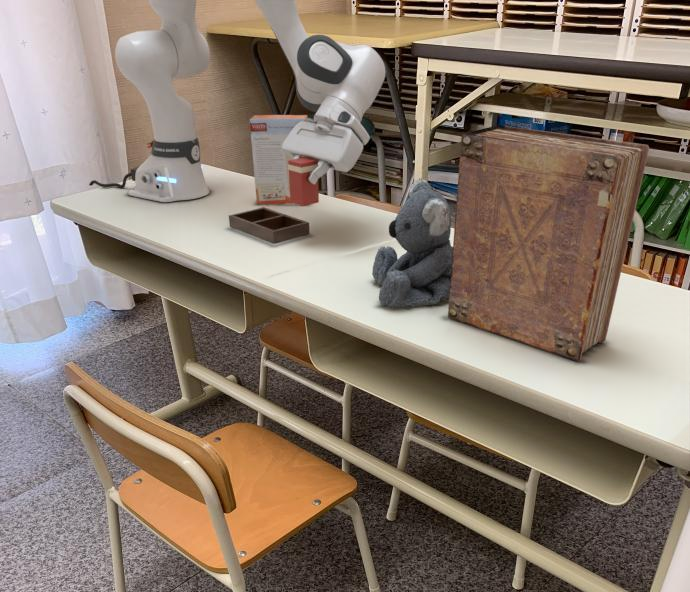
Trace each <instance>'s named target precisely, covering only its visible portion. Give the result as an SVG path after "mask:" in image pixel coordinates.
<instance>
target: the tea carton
mask: <svg viewBox="0 0 690 592" xmlns="http://www.w3.org/2000/svg"><path fill="white" fill-rule="evenodd" d="M317 164H318V163H317V160H313V159H309V158H305V157H303V158H298V159H293V160H288V170H289V184H290V202H291V203H290V204H294V205H298V206H301V207H305V206H309V205H314V204H318V203H319V202H320V195H319V179H318V180H317V182H316V184H311V183H309V182H308V181H307V180H306V177H307V176H308V174H309V172H313V171H314V170H315V169H316V168H317V167H318V165H317Z"/></svg>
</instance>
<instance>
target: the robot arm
mask: <svg viewBox="0 0 690 592" xmlns="http://www.w3.org/2000/svg"><path fill="white" fill-rule="evenodd" d="M147 2H148V3H149V5H150V7H151V9H152V10H153V12H154V13H155V14H156V15H158V16H159V17H160V18H161V26H160V28H159V29H153V30H151V29H150V30H140V31H139V30H138V31H133V32H131V33H128V34H126V35H123V36H121V37H120V38H119V39H118V40H117V42H116V45H115V51H114V57H115V62H116V65H117V68H118V69H119V71H120V73H121V75H123V77H124V78H125V79H126V80H128V81H129V82H130V83H132V85H134V86H135V87H136V88H137V90H138V91H139V92H140V94H141V96H142V98H143V99H144V101H145V103H146V106H147V110H148V113H149V116H150V117H149V118H150V121H151V127H152V132H153V138H154V139H153V140H152V141H151V142H147V143H146V145H148V146H147V147H146V148H147V149H150V148H151V151H150V155H149V156H148V157H147V158H146V159H145V161H144V162H142V164H140V165H139V166H136V167H134V168H131V169H130V172H129V173H126V175H124V176H123V179H122V184H120V183H116V182H113V183H101V182H99V181H98V180H95V179H94V180H91V181H90V182H89V184H88V186H90V187H91V186H93V185H94V184H95V185H97V186H99V187H101V188H113V187H118V188H120V189H123V188H125V186H126V184H127V179H129V178H130V177H131V181H132V182H135V183H134V184H135V186H133V187H131V188H130V189H129V190H128V196H131V197H136V198H140V199H146V200H149V201H155V202H159V203H171V202H176V201H188V200H194V199H199V198H204V197H206V196H207V195H209V193H210V190H209V188H208V185H207V181H206V179H205V175H204V172H203V165H202V163H201V149H200V147H201V146H200V141H199V137H197V129H196V122H195V121H196V120H195V114H194V108H193V106H192V104H191V103H190V102H189V101H188V100H187V99H186V98H184V97H182V96H180V95H179V94H178V92H177V91H176V89H175V86H174V82H173V80H174V81H175V80H181V79H188V78H193V77H195V76H197V75H199V74H202V73H204V72H205V71H207V69H208V67H209V65H210V58H211V51H210V46H209V44H208V41H207V40H206V38H205V37H204V35H203V34H202V33H201V32H200V30H199V28H198V25H197V20H196V19H197V18H196V6H197V0H148V1H147ZM254 3H255V4H256V5H257V7H258V9H259V10H260V12H261V14H262V15H263V17H264V18H265V20H266V22H267V24H268V25H269V27H270V28H271V30H272V33H273V34H274V36H275V39H276V41H277V42H278V44H279V47H280V48H281V50H282V52H283V54H284V56H285V58H286V61H287V62H288V64H289V67H290V68H291V70H292V72H293V76H294V79H295V80H294V81H295V92H296V96H297V99H298V102H300V104H301V106H303V108H305V109H307V111H310V112H314V113H315V114H314V115H313V117H312V118H311V117H307V119H306V120H304V121H301V122H299V123H298V124H297V125H296V126H295V127H294V128H293V129H292V131H291V132H290V133H289V135H288V136H287V138H286V139H285V141H284V142H283V144H282V150H283V151H284V152H285V154H286V155H287V156H288V157H289V158H291V159H298V158H303V157H305V158H309V159H313V160H317V163H318V164H317V165H318V167H317V168H316V169H315V170H314V171H313V172H309V174H308V176H307V177H306V180H307V181H308V182H309V183H311V184H316V182H317V180H318V181H319V179H320V178H322V177H323V176H324V175H326V174H327V173H328V171H329V169H331V170H334V171H339V172H342V173H348V172H349V171H350V170H352V169H353V168H354V167H355V165H356V163H357V161H358V160H359V158H360V156H361V154H362V152H363V150H364V146H366V145H367V144H368V143H369V141H370V139H371V136H370V135H369V133H368V131H367V130H366V129H365V127H364V126H363V125H362V120H363V116H364V114H365V112H366V111H367V110H368V109H369V108H370V107H371V106H372V105H373V103H374V101H375V99H376V98H377V96H378V94H379V92H380V90H381V88H382V86H383V83H384V81H385V78H386V66H385V63H384V61H383V59H382V56H381V55H380V53H378V52H377V51H376V50H375V48H373V47H372V46H369V45H368V44H363V43H362V44H356V45H354V44H353V45H352V44H346V43H342V42H340V41H336V40H334V39H333V38H331V37H330V36H328V35H325V34H314V35H311V36H309V35H308V33H307V32H306V29H305V28H304V25H303V23H302V20H301V18H300V14H299V11H298V5H297V0H254Z"/></svg>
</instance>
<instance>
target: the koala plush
mask: <svg viewBox="0 0 690 592" xmlns="http://www.w3.org/2000/svg"><path fill="white" fill-rule="evenodd" d="M410 184H411V185H410V188H409V190H408V199H406V201H405V202H404V204H403V205H402V206H401V207H400V209H399V211H398V213H397V215H396V217H395V219H393V220H392V221H391V222H389V225H388V234H389V236H390V237H391V238H393V239H395V240H396V241H397V243H398V244H399V246H400V247H401V248H402V249H403V250H405V251H406V252H405V253H404V254H402V255H401V256H400V257H399V258H398V254H397V252H396V249H395V248H393V247H391V246H387V247H386V246H381V247H379V248H378V249H377V251H376V254H375V256H374V262H373V265H372V272H371V275H372V278H373V280H374V281H375V282H377V285H380V286H381V288H380V289H379V293H378V301H379V302H380V305H382V306H384V307H389V308H399V309H400V308H411V307H416V306H435V305H436V304H437V305H438V303H439V302H440V301H446V300H449V295H450V282H451V268H452V255H453V245H451V240H450V237H451V232H452V214H451V208H450V204H449V203H448V201H447V199H445V197H444V195H442V194H441V193H439V192H438V191H436V190H433V188H432V186H431V185H430V183H429V182H428V181H427V180H425V179H423V177H421V178H418V180H414V181H413V183H410Z"/></svg>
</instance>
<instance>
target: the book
mask: <svg viewBox="0 0 690 592" xmlns="http://www.w3.org/2000/svg"><path fill="white" fill-rule="evenodd" d="M649 151H650V147H649V145H648V144H644V143H643V144H642V143H636V142H629V141H620V140H613V139H606V138H598V137H590V136H583V135H577V134H569V133H561V132H554V131H553V132H552V131H547V130H546V131H545V130H538V129H531V128H522V127H517V126H516V127H515V126H508V125H501V124H496V125H492V126H488V127H485V128H480V129H477V130H473V131H468V132H465V133H463V134H461V137H460V151H459V162H458V163H459V165H458V176H457V177H458V178H457V191H456V205H455V217H454V228H453V241H452V243H453V244H452V247H453V255H452V268H451V282H450V295H449V298H448V308H447V309H448V310H447V318H448V319H451V320H454V321H456V322H459V323H462V324H464V325H468V326H471V327H474V328H476V329H480V330H483V331H486V332H489V333H490V334H491V333H492V334H494V335H497V336H500V337H503V338H506V339H510V340H511V341H514V342H518V343H520V344H524V345H525V346H529V347H532V348H536V349H538V350H540V351H544V352H546V353H550V354H553V355H555V356H559V357H561V358H565V359H567V360H570V361H573V362H576V363H579V362H580V361H581V360H582V357H583V353H585V352H586V351H588V350H589V349H590V348H592V347H594V345H596V344H603V343H605V342H606V340H607V336H608V331H609V326H610V322H611V318H612V313H613V309H614V305H615V300H616V296H617V292H618V287H619V283H620V279H621V274H622V269H623V265H624V261H625V256H626V253H627V249H628V244H629V240H630V234H631V230H632V227H633V221H634V217H635V213H636V209H637V203H638V199H639V195H640V192H641V186H642V181H643V177H644V173H645V168H646V164H647V160H648V156H649Z"/></svg>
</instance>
